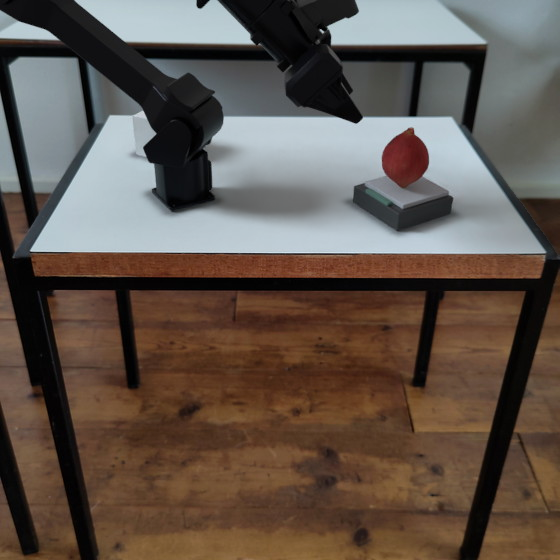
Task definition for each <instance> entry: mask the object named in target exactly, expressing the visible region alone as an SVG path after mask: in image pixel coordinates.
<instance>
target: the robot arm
mask: <svg viewBox="0 0 560 560" xmlns="http://www.w3.org/2000/svg"><path fill="white" fill-rule="evenodd" d="M210 1H211V0H196V4H195V5H196V8H197V9H199V10H202V9H203V8H205V6H206V5H207V4H208V3H209V2H210ZM216 1H217V2H218V3H219V4H220V5H221V6H222V7H223V8H224V9H225V10H226V11H227V12H228V13H229V14H230V15H231V16H232V17H233V18H234V19H235V20H236V21H237V23H239V24H240V25H241V26H242V27H243V28H244V30H246V31H247V33H248V34H249V40H250V41H251V42H252V43H253V44H254V45H255V46H256V47H257V46H259V45H260V46H261V47H262V48H263V49H264V50H265V51H266V52H267V53H268V54H269V55H270V56H271V57H272V58H273V59H274V61H275V63H276V68H278V69H279V70H280V72H281V73H284V72H285V73H284V91H285V97H287V98H288V99H289V100H290V102H292V103H293V104H294V105H295V106H296V107H297V108H300V107H302V108H304V109H306V108H309V109H311V110H312V109H313V110H314V111H319V112H320V113H324V114H327V115H331V116H333V117H336V118H339V119H342V120H344V121H347V122H349V123H352V124H355V125H357V124H359V123H360V122H361V121H362V120H363V119H364V116H363V114H362V112H361V111H360V109H359V108H358V106H357V105H356V103H355V101H354V99H353V98H352V96H351V95H352V93H353V92H354V89H353V87H352V85H351V84H350V82H349V80H348V79H347V76H346V75H345V73H344V66H343V64H342V61H341V59H340V58H339V56H338V55H337V54H336V53H335V52H334V50H333V49H332V34H331V30H330V29H329V26H331V25H333V24H336V23H337V22H340V21H343V20H344V19H351V18H354V16H356V15H358V14H359V12H360V8H359V7H358V4H357V1H356V0H216ZM0 12H2V13H3V14H6V15H7V16H9V17H10V18H11V19H14V20H16V21H17V22H19V23H22V24H26V25H29V26H32V27H35V28H39V29H42V30H44V31H47V32H49V33H50V34H51V35H52V36H53V37H55V38H56V39H57V40H58V41H60V42H61V43H62V44H64V45H65V46H66V47H67V48H69V49H70V50H71V51H72V52H73V53H75V54H76V55H77V56H79V58H81V59H82V60H83V61H84V62H86V63H87V64H89V65H90V66H91V67H92V68H94V70H96V71H97V72H98V73H99V74H101V75H102V76H103V77H104V78H106V79H107V80H108V81H109V82H110V83H112V84H113V85H114V86H115V87H117V88H118V89H119V90H121V91H122V92H123V93H124V94H125V95H127V96H128V97H129V98H130V99H132V100H133V101H134V102H135V103H136V104H138V105H139V106H140V107H141V109H142V111H144V113H145V115H146V118H147V120H148V122H149V124H150V126H151V128H152V129H153V131H154V132H155V133H156V135H155V136H154V137H153V138H152V139H151V140H150V141H149V142H148V143H147V144H145V145H144V146H143V150H144V152H145V155H146V157H145V158H146V159H147V161H148V163H149V164H153V166H154V167H153V168H154V177H155V178H154V179H155V187H152V188H151V194H153V195H154V197H156V198H157V199H158V201H160V202H161V203H162V204H163V205H164V206H165V207H166V208H167V209H168V210H169V211H171V212H173V211H174V212H175V211H179V210H183V209H187V208H190V207H194V206H198V205H202V204H205V203H209V202H213V201H216V195H215V194H214V193H213V192H212V190H213V188H214V187H213V170H212V169H213V168H212V167H213V166H212V161H211V160H209V153H208V150H206V149H204V148H206V147H207V146H209V145H211V143H212V140H213V137H215V136H216V135H217V134H218V133H219V132H220V131H221V130H222V127H223V125H224V118H225V116H224V111H223V106H222V104H221V102H220V101H219V100H218V99H217V97H215V96H213V95H215V94H216V91H215V90H213V89H211V88H209V87H206V86H205V85H204V84H203V83H202V82H200V80H199V79H198V78H197V77H196V76H195V75H194V74H192V73H191V72H186V73H184V74H182V75H181V76H180V77H178V78H176V77H172V76H169V75H167V74H165V73H164V72H162V70H160V69H159V68H157V66H156V65H154V64H153V63H151V61H149V60H147V58H146V57H144V56H143V55H142V54H140V53H139V52H138V51H136V49H135V48H133V47H132V46H131V45H130V44H128V43H127V42H126V41H125V40H124V39H122V38H121V37H120V36H119V35H117V34H116V33H115V32H114V31H112V30H111V29H110V28H109V27H108V26H106V25H105V24H104V23H103V22H101V21H100V20H99V19H98V18H96V16H94V15H93V14H92V13H90V12H89V11H88V10H87V9H86V8H84V7H83V6H82V5H81V4H79V3H78V2H77V1H76V0H0Z"/></svg>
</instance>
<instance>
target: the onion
mask: <svg viewBox="0 0 560 560" xmlns="http://www.w3.org/2000/svg"><path fill="white" fill-rule="evenodd" d="M415 132H416V131H415V128H414V127H413V126H412V127H407V129H405V130H404V131H402V132H400V133H399V134H397V135H395V136H394V137H393V138H392V139H391V140H389V142H388V143H387V144H386V145H385V146H384V149H383V150H382V154H381V166H382V170H383V172H384V174H385V176H388V177H389V178H390V179H391V180H392V181H393V182H395V183H396V184H397V185H398V186H400V187H403V188H404V187H407V186H408V185H410V184H412V183H414V182H416V181H417V180H418V179H420V178H421V177H422V176H423V177H424V175H425V174H426V172H427V171H428V168H429V165H430V154H429V149H428V148H427V145H426V144H425V142H424V141H423V140H422V139H421V138H420V137H419V136H418V135H417V134H416V133H415Z"/></svg>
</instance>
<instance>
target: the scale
mask: <svg viewBox="0 0 560 560" xmlns="http://www.w3.org/2000/svg"><path fill="white" fill-rule="evenodd" d="M453 201H454V197H453V196H452V195H450V190H448V189H446V188H444V187H443V186H441V185H439V184H437V183H435V182H433V181H432V180H431V179H428V178H426V177H424V175H423V176H422V177H421V178H420V179H418V180H417V181H416V182H414V183H412V184H410V185H408V186H407V187H404V188H403V187H400V186H398V185H397V184H396V183H395V182H393V181H392V180H391V179H390V178H389V177H388V176H387V175H384V176H380V177H376V178H373V179H370V180H366V181H364V182H363V183H359V184H356V185H353V195H352V203H353V204H355V205H356V206H358V207H359V208H361V209H363V210H364V211H365V212H367V213H369V214H370V215H372V216H373V217H375V218H376V219H378V220H379V221H381V222H382V223H384V224H385V225H386V226H388V227H390V228H391V229H393V230H395V231H396V232H398V231H401V230H404V229H405V230H406V229H408V228H411V227H414V226H417V225H420V224H423V223H426V222H429V221H433V220H435V219H439V218H441V217H444V216H449V215H451V213H452V207H453Z"/></svg>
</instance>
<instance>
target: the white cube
mask: <svg viewBox="0 0 560 560" xmlns="http://www.w3.org/2000/svg"><path fill="white" fill-rule="evenodd" d="M131 118H132V127H133V137H134V147H135V155H136V156H140V157H145V158H147V157H146V155H145V152H144V150H143V146H144V145H145V144H147V143H148V142H149V141H150V140H151V139H152V138H153V137H154V136H155V135H156V133H155V132H154V131H153V129H152V128H151V126H150V124H149V122H148V120H147V118H146V115H145V113H144V111H143V110H140V111H139V112H138V113H135V114H133V115H131Z"/></svg>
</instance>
